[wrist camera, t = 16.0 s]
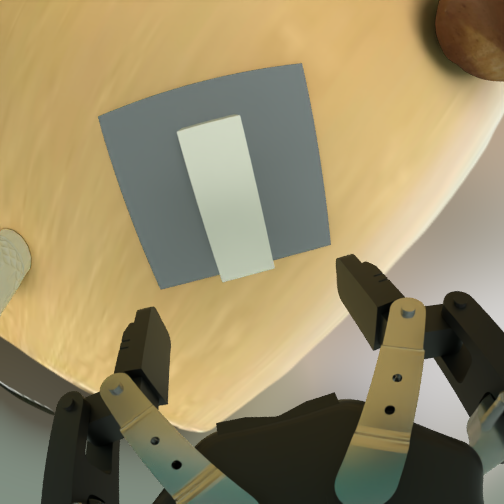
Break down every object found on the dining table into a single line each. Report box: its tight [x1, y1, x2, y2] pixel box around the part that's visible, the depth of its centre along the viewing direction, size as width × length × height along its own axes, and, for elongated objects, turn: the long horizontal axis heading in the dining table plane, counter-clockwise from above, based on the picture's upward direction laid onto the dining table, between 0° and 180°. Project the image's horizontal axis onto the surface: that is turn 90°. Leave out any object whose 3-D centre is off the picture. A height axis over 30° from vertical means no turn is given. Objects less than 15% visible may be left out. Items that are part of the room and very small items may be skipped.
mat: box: [98, 63, 331, 289], centre depth 29 cm, size 20×20×1 cm
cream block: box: [177, 114, 275, 282], centre depth 27 cm, size 5×5×14 cm
